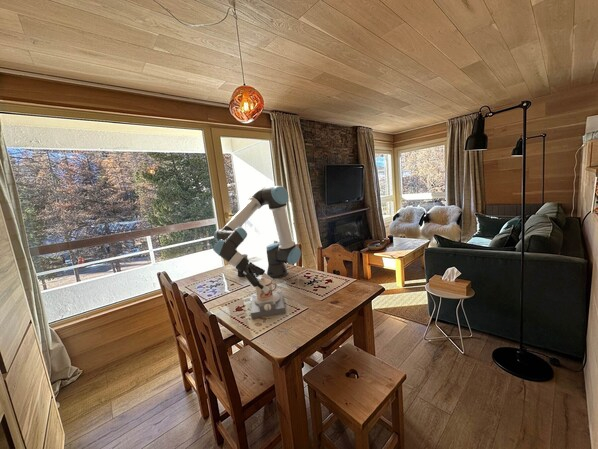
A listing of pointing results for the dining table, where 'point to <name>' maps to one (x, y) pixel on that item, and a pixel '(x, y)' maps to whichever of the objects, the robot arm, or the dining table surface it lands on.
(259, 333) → the dining table surface
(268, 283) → the teacup with lid
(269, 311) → the kitchen scale
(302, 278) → the dining table surface
